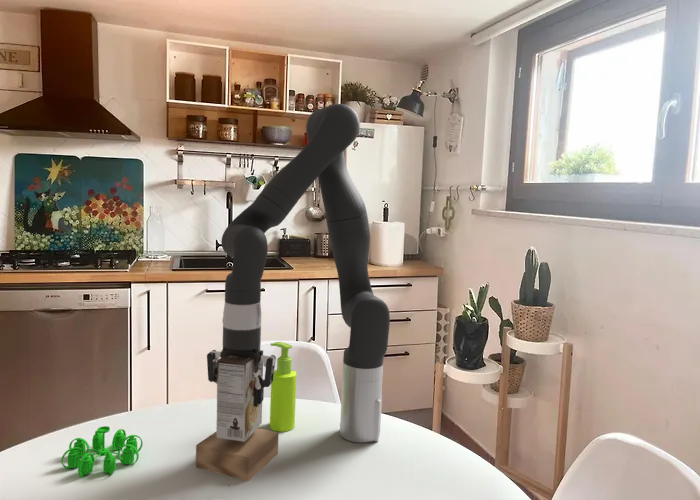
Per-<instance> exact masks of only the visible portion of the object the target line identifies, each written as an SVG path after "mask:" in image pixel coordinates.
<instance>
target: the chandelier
mask: <svg viewBox="0 0 700 500" xmlns="http://www.w3.org/2000/svg"><path fill="white" fill-rule="evenodd" d="M110 429H111V428H110V426H107V425H106V426H105V425H104V426H100V427H98V428H97V430H95V431H94V435H92V436H93V437H92V440H91V441H92V444H91V445H92V446H91V447H92V449H90V444H89V442H88V441H86V440H85V439H84V438H82V437H76V438H74V439H73V440H72V441H70V443H69V445H68V449H67V450H66V451H65V452H64V453H63V454H62V457H61V464H62V466H63V468H65V469H66V470H71V469H74V468H77V474H78V475H79V477H82V478H85V477H86V475H89V474H91V473H93V468H94V465H95V460H96V459H97V458H98V457H100V456H102V457H103V456H104V458H103V472H104V473H106V474H108V475H109V476H112V475H113V474H114V472H115V470H116V466H117V462H116V461H117V459H116V456H115V455H117V457H118V460H119V461H120V462H121V464H122V465H131V466H133V465H135V464H136V463H137V462H138V460H139V457H140V455H139V454H140V453H139V452H140V451H141V450H142V448H143V443H144V442H143V440H142V438H141V437H140V436H139V435H137V434H130V435H128V436H127V433H126V430H125V429H123V428H120V429H118V430H117V431H116V432H115V433H114V435H113V437H112V442H111V444H110V445H109V446H108V447H106V445H105V444H106V443H105V441H106V439H105V438H106V437H105V434H106V433H109V432H110ZM137 438H139V440H140V446H139V448H138V441H137ZM74 441H75V442H74ZM73 442H74V444H73ZM72 446H73V447H72ZM111 447H112V448H111ZM118 449H119V450H118ZM86 451H87V452H86ZM90 451H91V452H94V453H91V452H90ZM113 451H117V452H113ZM121 453H122V455H121ZM67 454H68V455H67ZM66 455H67V466H66V465H65V463H64V458H65V457H66ZM95 455H96V456H95ZM135 455H136V457H135ZM135 458H136V459H135Z"/></svg>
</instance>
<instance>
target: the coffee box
mask: <svg viewBox="0 0 700 500" xmlns="http://www.w3.org/2000/svg"><path fill="white" fill-rule="evenodd" d="M260 350H261V353H262V355H264V350H263V349H260ZM259 369H260V372H261V376H262V378H263V379H264V377H263V376H264V374H263V373H264V365H263V362H262V361H260V362H259V364H258V365H257V366H256V367H255V365H254V358H251V357H243V356H230V355H225V356H223V357H222V358H221V357H220V359H219V360H217V384H216V431H217V434H216V436H217V438H222V439H229V440H237V441H244V442H245V441H246V440H247V439H248V438H249V437H250V435H251V434H252V433H253V432H254V431H255V430H256V429H257V428H258V427H260V425H261V424H262V422H263V421H262V420H263V418H262V417H263V415H262V414H263V402H262V403H261V404H260V405H259V406H258V407H256V406H254V389H255V386H254V379H253V372H254V373H256V372H257V371H258V370H259Z"/></svg>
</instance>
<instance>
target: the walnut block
mask: <svg viewBox="0 0 700 500" xmlns="http://www.w3.org/2000/svg"><path fill="white" fill-rule="evenodd" d="M216 434H217V430H216V431H214V432H213V433H211V434H210V435H208V436H207V437H206V438H205V439H203V440H202V441H200V442H198V443H197V444H195V468H198V469H201V470H204V471H208V472H213V473H216V474H220V475H224V476H227V477H231V478H234V479H239V480H242V481H246V482H249V481H250V480H251V479H252V478H253V477H254V476H256V475H257V474H258V473H259V472H260V471H261V470H262V469H264V467H266V465H267V464H268V463H270V462H271V460H273V459H275V457H276V456H277V455H279V436H280V435H279V432H278V431H274V430H272V431H271V430H268V429H264V428H257V429H256V430H255V431H254V432H253V433H252V434H251V435H250V437H249V438H248V439H247V440H246V441H245V442H244V441H237V440H229V439H222V438H217V436H216Z"/></svg>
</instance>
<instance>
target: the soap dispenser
mask: <svg viewBox="0 0 700 500" xmlns="http://www.w3.org/2000/svg"><path fill="white" fill-rule="evenodd" d="M270 346H271V347H278V348H281V349H280V350H281V351H280V356H279V357H277V359H276V361H277V363H276V369H274V378H273V382H272V383H271V385H270V405H269V406H270V407H269V408H270V409H269V429H271V430H272V431H273V432H277V433H279V432H281V433H283V432H284V433H285V432H290V431H292V430H293V429H294V428H295V425H296V424H295V423H296V401H297V400H296V398H297V395H296V393H297V371H295V370H293V369H292V367H293V366H292V363H293V358H292V357H290V356H289V350H290V349H292V348H293V345H292V344H290V343H289V344H288V343H287V342H283V341H276V342H272V343H270Z"/></svg>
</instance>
